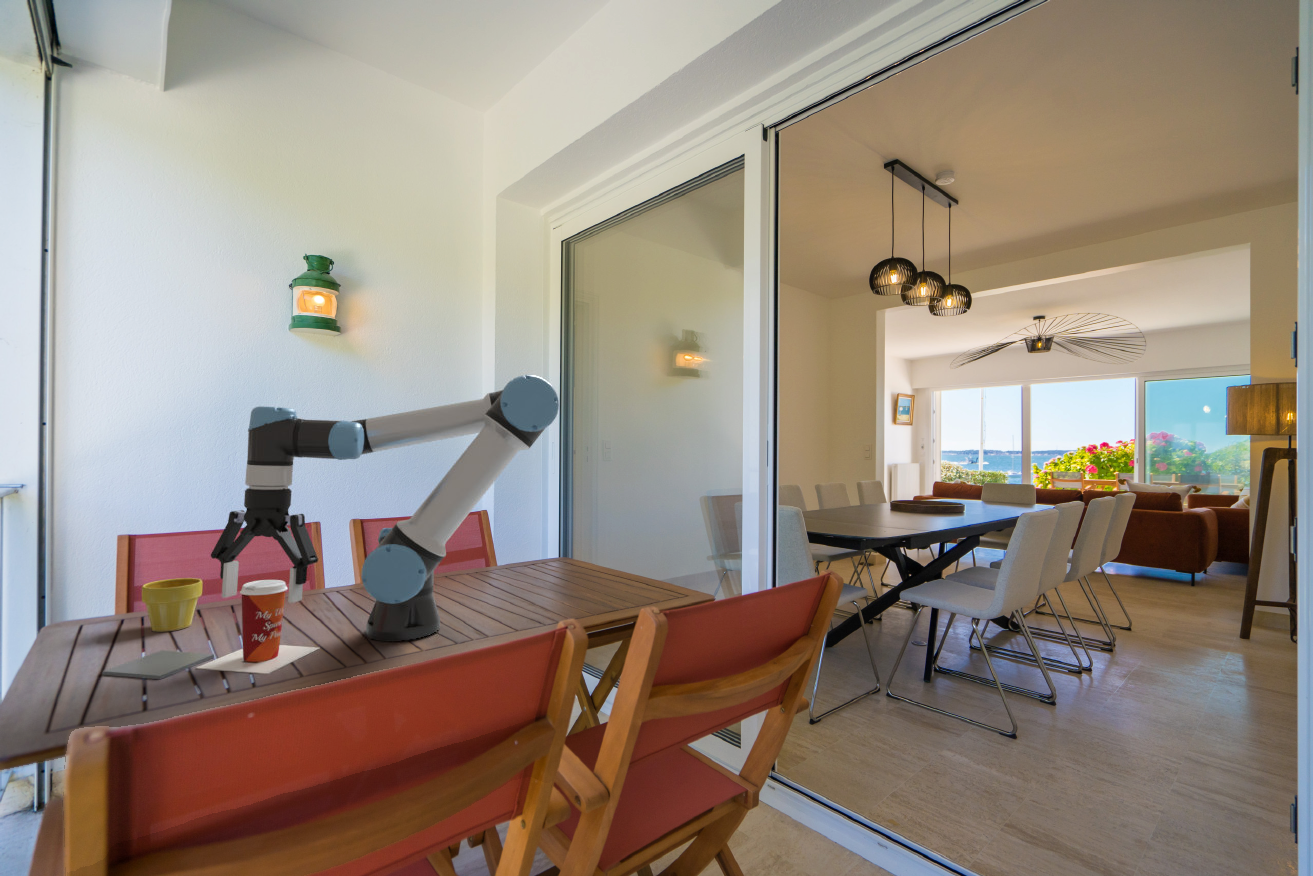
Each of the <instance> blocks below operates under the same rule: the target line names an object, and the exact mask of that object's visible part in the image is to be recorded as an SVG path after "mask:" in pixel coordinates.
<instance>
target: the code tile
mask: <svg viewBox="0 0 1313 876" xmlns="http://www.w3.org/2000/svg"><path fill="white" fill-rule="evenodd" d="M319 649H321V647H313V646H312V647H311V646H301V645H285V644H280V645H279V652H278V656H277V657H276V658H273V659H271V660H267V661H262V662H246V661H244V659H243V648H241V649H238V650H236V651H233V652H231V653H229V654H226V655H223V656H221V657H219V658H216V659H214V660H212V661H209V662H207V663H204V664H202V665H199V666H196V667H195V669H197V670H198V669H199V670H209V671H210V670H211V671H221V672H223V671H224V672H236V673H247V674H248V673H249V674H263V675H269V674H271V673H273V672H275V671H277V670H279V669H281V668H283V667H285V666H287V665H290V664H291V663H294V662H296V661H298V660H300V659H301V658H304V657H305V656H308V655H310V654H311V653H315V652H316V651H318V650H319Z"/></svg>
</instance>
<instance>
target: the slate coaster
mask: <svg viewBox="0 0 1313 876" xmlns="http://www.w3.org/2000/svg"><path fill="white" fill-rule="evenodd" d="M214 658H215V654H213V653H201V652H188V651H187V652H185V651H173V650H159V651H156V652H153V653H151V654H147V655H145V656H142V657H139V658H137V659H133V660H131V661H128V662H125V663H122V664H119V665H117V666H113V667H111V668H107V669H105V670H103V671H102V675H103V676H116V677H127V678H139V679H140V678H141V679H152V680H162V679H164V678H167V677H169V676H171V675H175V674H177V673H179V672H182V671H185V670H186V669H189V668H192V667H195V666H196V665H199V664H201V663H204V662H206V661H209V660H212V659H214Z"/></svg>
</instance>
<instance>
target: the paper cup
mask: <svg viewBox="0 0 1313 876" xmlns="http://www.w3.org/2000/svg"><path fill="white" fill-rule="evenodd" d="M288 590H289V587H288V586H287V584H286V581H285V580H281V579H280V580H279V579H262V580H261V579H260V580H253V581H249V582H246V583H244V584H243V585H242V588H241V589H240V591H239V594H240V595H241V625H242V627H241V628H242V629H241V630H242V633H241V634H242V649H243V659H244V661H246V662H262V661H267V660H271V659H273V658H276V657H277V656H278V652H279V645H281V635H282V627H283V619H284V611H285V609H284V608H285V601H286V591H288Z"/></svg>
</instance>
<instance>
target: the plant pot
mask: <svg viewBox="0 0 1313 876" xmlns="http://www.w3.org/2000/svg"><path fill="white" fill-rule="evenodd" d="M202 594H203V580H202V578H196V577H180V578H170V579H169V578H168V579H161V580H156V581H151V582H147V583H145V584H143V585H142V586H141V602H142V603H143V604H145V606H146V610H147V611H146V612H147V614H148V619H149V623H150V627H151V630H152V631H153V632H155V633H156V632H158V633H160V632H161V633H167V632H174V631H180V630H183V629H187V628H189V627H190V626H191V625H192V623H193V618H194V615H195V610H196V608H197V603H198V599H199V598H200V597H202Z"/></svg>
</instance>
